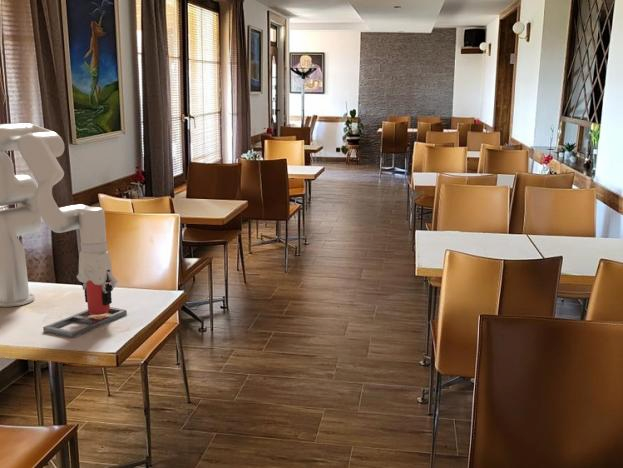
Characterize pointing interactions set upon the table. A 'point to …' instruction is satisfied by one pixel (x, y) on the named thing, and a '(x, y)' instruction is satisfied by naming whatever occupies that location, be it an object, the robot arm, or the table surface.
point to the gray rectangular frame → (84, 322)
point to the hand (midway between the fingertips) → (98, 302)
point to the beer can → (95, 299)
